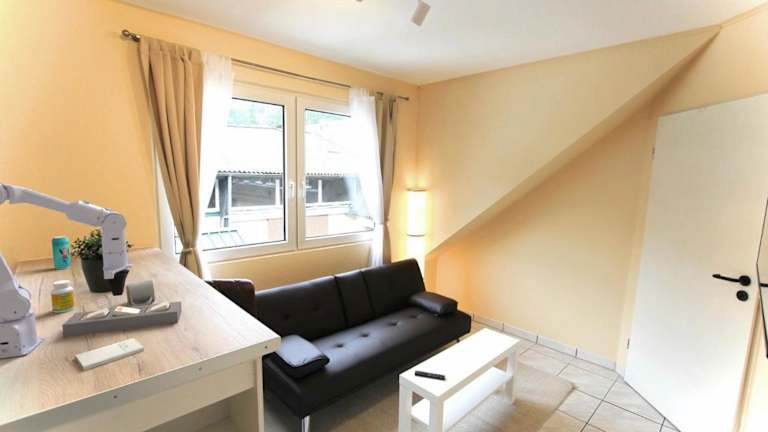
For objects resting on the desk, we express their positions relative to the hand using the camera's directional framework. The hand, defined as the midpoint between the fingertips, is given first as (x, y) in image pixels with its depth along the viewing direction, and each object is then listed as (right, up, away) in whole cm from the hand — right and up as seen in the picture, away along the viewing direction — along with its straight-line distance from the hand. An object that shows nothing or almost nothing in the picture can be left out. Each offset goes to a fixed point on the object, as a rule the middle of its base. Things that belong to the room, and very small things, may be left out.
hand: (118, 294), depth 105 cm
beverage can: (-70, -1, +56) cm, 90 cm away
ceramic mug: (-5, -7, +18) cm, 21 cm away
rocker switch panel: (+2, -9, +2) cm, 10 cm away
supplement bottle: (-26, -8, +10) cm, 29 cm away
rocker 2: (+2, -6, +1) cm, 6 cm away
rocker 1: (-6, -6, -2) cm, 8 cm away
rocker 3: (+9, -5, +5) cm, 11 cm away
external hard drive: (+10, -13, -16) cm, 23 cm away
